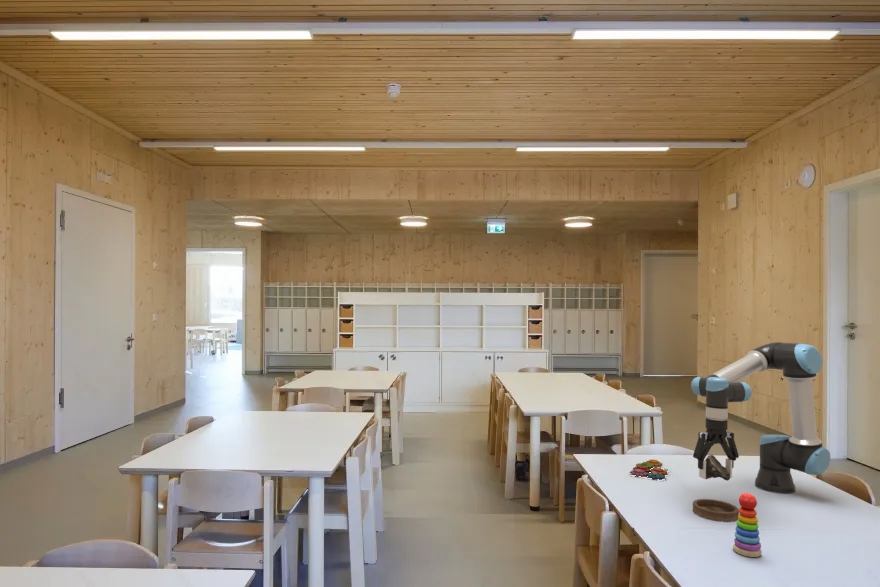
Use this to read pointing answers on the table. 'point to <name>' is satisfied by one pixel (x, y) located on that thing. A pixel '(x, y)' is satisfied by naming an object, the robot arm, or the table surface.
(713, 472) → the grey brown rock
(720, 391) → the robot arm
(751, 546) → the stacking toy
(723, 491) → the table surface
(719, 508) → the round tray
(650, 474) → the gear puzzle
